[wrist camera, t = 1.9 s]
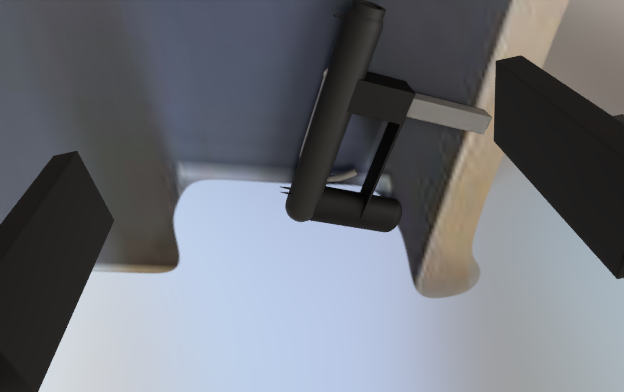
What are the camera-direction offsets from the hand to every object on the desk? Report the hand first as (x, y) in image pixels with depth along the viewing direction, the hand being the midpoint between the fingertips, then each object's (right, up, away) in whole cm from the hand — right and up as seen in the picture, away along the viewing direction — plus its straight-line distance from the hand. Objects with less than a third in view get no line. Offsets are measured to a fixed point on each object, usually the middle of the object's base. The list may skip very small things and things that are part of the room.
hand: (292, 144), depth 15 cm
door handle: (+7, +4, +28) cm, 29 cm away
